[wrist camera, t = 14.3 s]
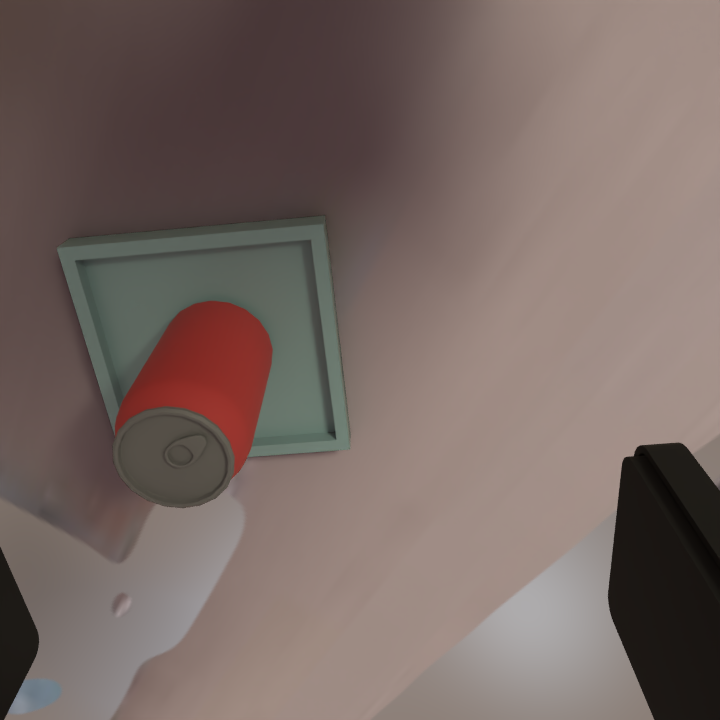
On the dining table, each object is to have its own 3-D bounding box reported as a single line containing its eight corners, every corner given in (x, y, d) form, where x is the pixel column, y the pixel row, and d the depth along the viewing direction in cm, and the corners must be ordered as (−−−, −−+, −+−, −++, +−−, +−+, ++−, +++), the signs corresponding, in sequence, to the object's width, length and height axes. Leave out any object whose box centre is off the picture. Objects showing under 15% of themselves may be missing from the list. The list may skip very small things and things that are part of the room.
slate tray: (325, 215, 38) (323, 224, 37) (350, 434, 45) (350, 449, 43) (68, 238, 39) (56, 248, 37) (132, 450, 46) (124, 466, 44)
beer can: (296, 354, 41) (275, 471, 31) (218, 410, 43) (173, 539, 33) (223, 275, 39) (172, 372, 28) (144, 337, 41) (69, 451, 30)
